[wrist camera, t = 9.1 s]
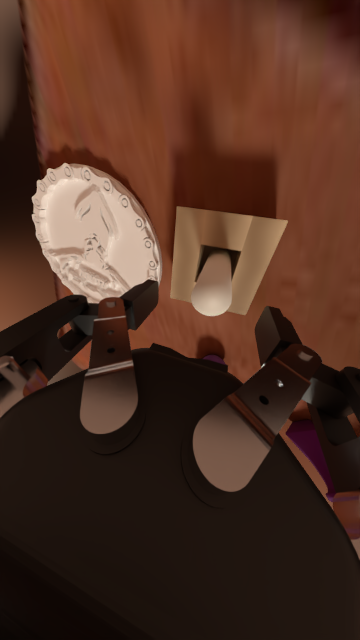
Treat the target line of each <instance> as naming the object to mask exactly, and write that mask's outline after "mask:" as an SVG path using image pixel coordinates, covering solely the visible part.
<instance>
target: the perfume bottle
mask: <svg viewBox="0 0 360 640" xmlns="http://www.w3.org/2000/svg"><path fill="white" fill-rule="evenodd" d="M286 435H287V436H288V437H289V438H290V439H291V440H292V441H293V443H294V444H295V445H296V446H297V447H298V448H299V449H300V450H301V451H302V452H303V453H304V454H305V456H306V457H307V458H308V459H309V460H310V461H311V463H312V464H313V465H314V466H315V468H316V469H317V471H318V472H319V474H320V475H321V477H322V479H323V480H324V482H325V483H326V485H327V488H328V493H326V496H327V498H328V500H329V501H331V502H333V498H334V496H335V494H336V492H335V489H334V486H333V482H332V479H331V476H330V473H329V470H328V467H327V464H326V461H325V458H324V455H323V452H322V448H321V445H320V442H319V439H318V436H317V433H316V430H315V427H314V424H313V422H312V421H311V420H302V421H295V422H292V424H291V425H290V427H289V429H288V430H287V432H286Z"/></svg>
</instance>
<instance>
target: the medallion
mask: <svg viewBox="0 0 360 640" xmlns="http://www.w3.org/2000/svg"><path fill="white" fill-rule="evenodd" d="M32 201H33V204H34V213H35V214H32V219H33V221H34V223H35V227H36V237H37V239H38V240H39V241H40V244H41V246H42V249H43V254H44V256H45V257H46V258H47V259H48V261H49V263H50V265H51V268H52V270H53V271H54V272H55V273H57V275H58V276H59V277H60V279H62V283H63V284H64V285H65V286H67V287H68V288H69V289H70V290H71V291H72V292H73V294H74V295H84V296H86V297H87V300H88V303H99V302H100V301H101V300H102V299H105V298H108V297H118V298H119V297H120V296H121V295H123V294H124V293H126V292H127V291H128V290H130V289H131V288H132V287H134V286H135V285H138V284H142V283H144V282H145V281H146V280H147V279H150V280H155V281H158V284H160V280H161V275H162V258H161V250H160V246H159V242H158V238H157V235H156V233H155V230H154V228H153V225H152V223H151V221H150V219H149V217H148V216H147V214H146V212H145V210H144V209H143V207H142V206H141V204H140V203H139V202H138V201H137V199H136V198H135V197H134V195H133V194H132V193H131V192H130V191H129V190H128V189H127V188H126V187H125V186H124V185H123V184H121V183H120V182H119V181H118V180H116V179H115V178H113V177H112V176H110V175H109V174H107V173H105V172H103V171H100V170H98V169H96V168H93V167H90V166H87V165H81V164H67V163H64V164H63V165H62V166H60V167H58V168H56V169H51V168H48V169H47V175H46V176H45V178H44V179H42V180H38V181H37V192H36V194H35V195H34V196H33V197H32Z"/></svg>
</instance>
